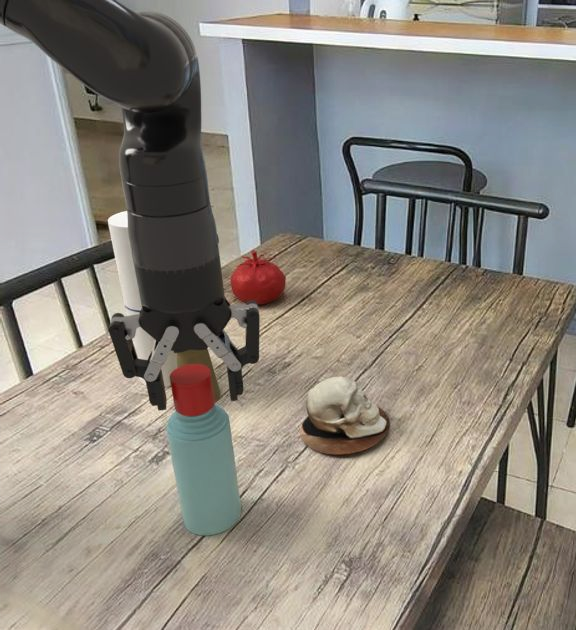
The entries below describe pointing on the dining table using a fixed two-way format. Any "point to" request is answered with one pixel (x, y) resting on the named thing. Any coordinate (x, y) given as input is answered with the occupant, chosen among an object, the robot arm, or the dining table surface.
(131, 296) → the cylindrical container
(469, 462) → the dining table surface
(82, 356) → the dining table surface
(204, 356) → the brown pawn
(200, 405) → the cap
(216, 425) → the bottle
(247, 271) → the pomegranate
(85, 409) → the dining table surface
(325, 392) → the skull
